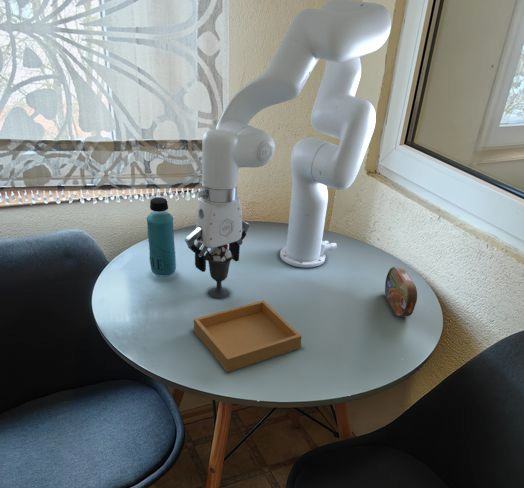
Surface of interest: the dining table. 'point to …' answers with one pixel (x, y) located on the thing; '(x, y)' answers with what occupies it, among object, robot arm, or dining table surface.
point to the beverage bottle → (161, 238)
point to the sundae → (219, 268)
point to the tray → (246, 335)
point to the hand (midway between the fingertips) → (217, 264)
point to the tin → (400, 292)
